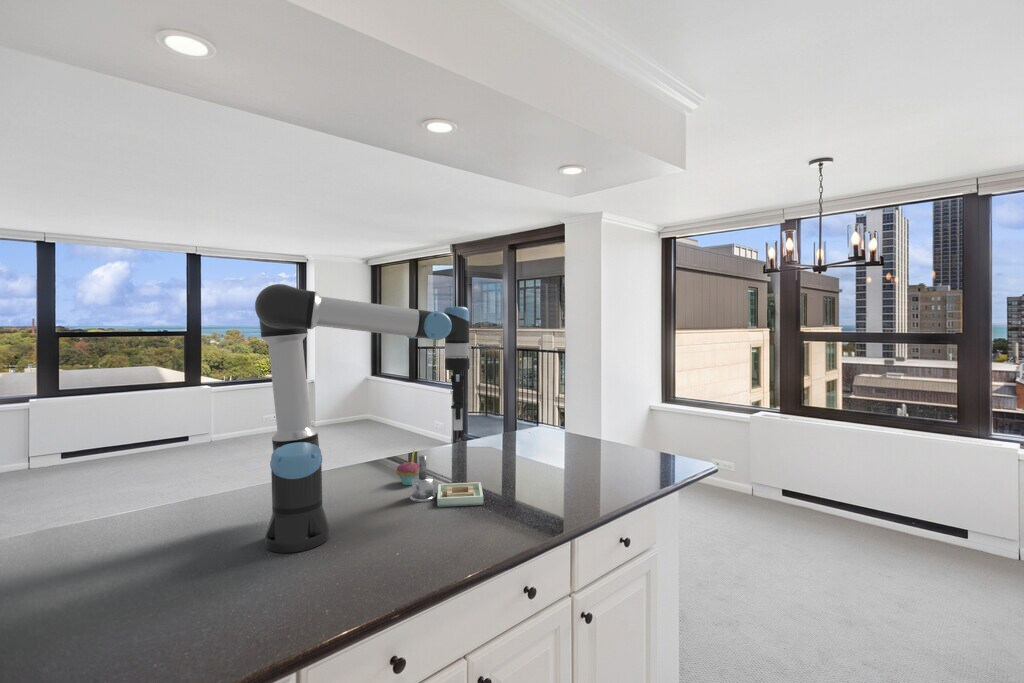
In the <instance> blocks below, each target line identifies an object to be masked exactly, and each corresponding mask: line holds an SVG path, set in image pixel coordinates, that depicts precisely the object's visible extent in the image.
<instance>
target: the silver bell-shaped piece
mask: <svg viewBox="0 0 1024 683" xmlns="http://www.w3.org/2000/svg"><path fill="white" fill-rule="evenodd" d="M418 464H419V476H417V477H414V478H413V479H412V485H411V486H412V493H411V494H410V495H409V500H410V501H411V502H414V503H428V502H431V501H434V500H436V499H437V498H436V497H437V493H435V492H434V476H432V475H428V474H427V467H428V466H427V455H425V454H424V455H423V454H422V455H418Z"/></svg>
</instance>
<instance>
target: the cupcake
mask: <svg viewBox="0 0 1024 683" xmlns="http://www.w3.org/2000/svg"><path fill="white" fill-rule="evenodd" d="M414 458H415V448H414V449H413V450H412V454H411V461H409V462H403V463H400V464H399V465H398V466H397V467H396V470H395V472H396V475H398V477H399V478H400V481H401V484H402V485H403V486H412V479H413V478H414V477H417V476H419V463H418V462H414Z"/></svg>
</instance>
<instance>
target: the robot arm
mask: <svg viewBox="0 0 1024 683" xmlns="http://www.w3.org/2000/svg"><path fill="white" fill-rule="evenodd" d="M254 302H255V303H254V310H255V314H256V316H257V317H258V319H259V328H260V329H259V330H260V337H261V338H260V339H262V340H263V341H265V343H267V345H268V354H269V362H270V364H269V365H270V373H271V375H270V376H271V383H272V392H273V393H272V394H273V401H274V402H273V403H274V412H275V420H276V433H274V435H273V436H272V438H271V443H272V453H271V457H270V459H271V460H270V462H269V463H270V464H269V466H270V471H271V472H270V474H271V505H272V506H271V507H272V508H271V510H272V512H271V517H270V520H269V522H268V523H269V524H268V526H267V530H266V533H265V536H264V546H265V548H266V550H268V551H271V552H273V553H274V552H275V553H283V554H284V553H285V554H288V553H297V552H299V553H300V552H303V551H307V550H311V549H314V548H316V547H318V546H321V545H323V544H324V543H326V542H327V541H328V540H329V539H330V537H331V525H330V523H329V520H328V517H327V515H326V512H325V509H324V507H323V476H322V474H323V472H322V468H323V467H322V465H323V464H322V462H323V455H322V450H321V448H320V443H319V442H320V441H319V433H318V430H317V429H315V428H314V427H313V426H312V422H311V420H312V419H311V412H310V402H309V392H308V383H307V382H308V381H307V373H306V372H307V371H306V362H305V360H306V359H305V352H304V342H303V341H304V340H305V338H306V337H307V336H308V334H309V333H308V330H313V329H314V328H316V327H323V328H333V329H341V330H350V331H351V330H352V331H357V332H359V331H361V332H367V333H369V332H370V333H376V334H377V333H378V334H384V335H385V334H386V335H394V336H402V337H404V336H405V337H406V338H408V339H416V340H418V339H429V340H434V341H441V340H442V339H444V356H445V358H444V369H445V370H446V371H452V374H453V375H452V374H451V375H450V382H451V390H453V395H452V397H453V398H452V399H453V401H452V405H450V409H452V418H453V420H452V422H453V423H452V424H453V426H452V427H453V431H463V430H464V428H463V426H464V425H463V423H464V421H463V420H464V419H463V418H464V416H463V412H464V410H463V407H464V406H463V402H464V397H463V390H464V381H465V375H462V371H468V370H469V369H470V364H471V363H470V358H469V356H470V350H471V349H472V346H471V345H470V324H471V323H470V312H469V309H468V308H467V307H466V306H446V307H444V311H430V310H421V309H416V308H415V309H414V308H408V307H402V306H395V305H394V306H393V305H385V304H379V303H374V302H373V303H372V302H364V301H358V300H350V299H343V298H342V299H341V298H335V297H328V296H327V297H326V296H321V295H320V294H319V293H318V292H317V291H313V290H307V289H302V288H297V287H295V286H291V285H287V284H283V283H276V284H271V285H268V286H266V287H264V288H263V289H262V290H261V291H260V292H258V295H257V296H256V298H255V301H254Z"/></svg>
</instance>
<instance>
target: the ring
mask: <svg viewBox="0 0 1024 683" xmlns="http://www.w3.org/2000/svg"><path fill="white" fill-rule="evenodd" d="M463 496H474V493H473V485H462V486H447V489H442V497H463Z"/></svg>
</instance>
